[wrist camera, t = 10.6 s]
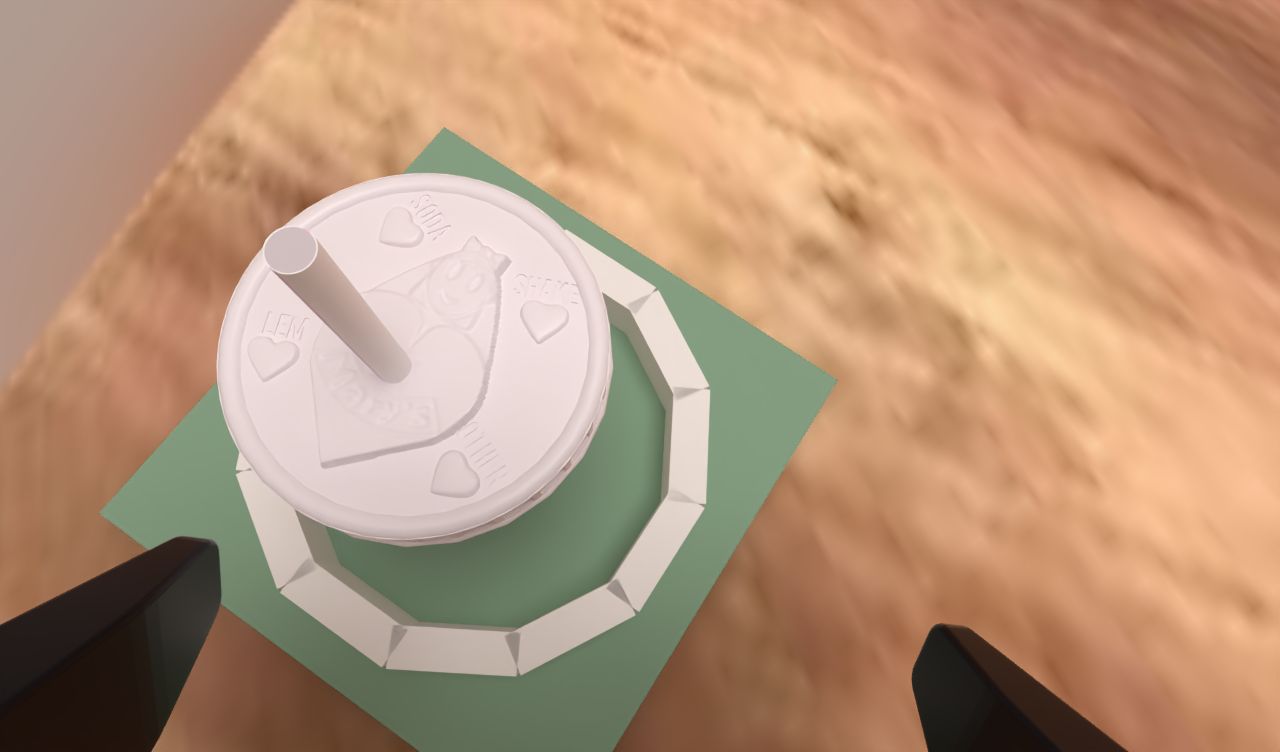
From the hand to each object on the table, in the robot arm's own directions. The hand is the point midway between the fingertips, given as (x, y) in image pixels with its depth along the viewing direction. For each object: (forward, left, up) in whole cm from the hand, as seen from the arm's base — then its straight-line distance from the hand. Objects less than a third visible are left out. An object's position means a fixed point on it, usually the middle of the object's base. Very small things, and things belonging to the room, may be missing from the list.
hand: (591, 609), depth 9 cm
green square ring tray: (+2, +5, -12) cm, 13 cm away
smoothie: (+2, +5, -12) cm, 13 cm away
